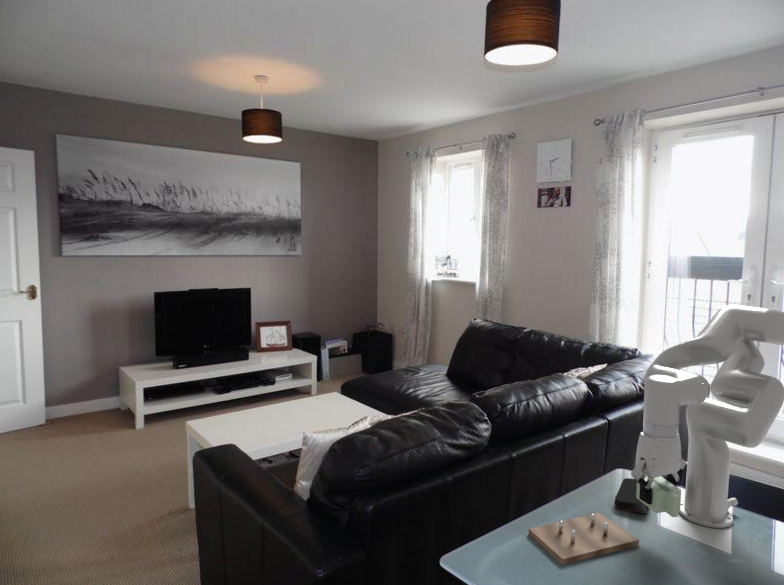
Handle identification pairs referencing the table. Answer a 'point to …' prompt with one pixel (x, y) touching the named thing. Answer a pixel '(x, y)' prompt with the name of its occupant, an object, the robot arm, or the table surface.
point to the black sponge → (629, 497)
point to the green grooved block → (663, 496)
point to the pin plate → (582, 538)
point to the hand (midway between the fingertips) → (657, 497)
